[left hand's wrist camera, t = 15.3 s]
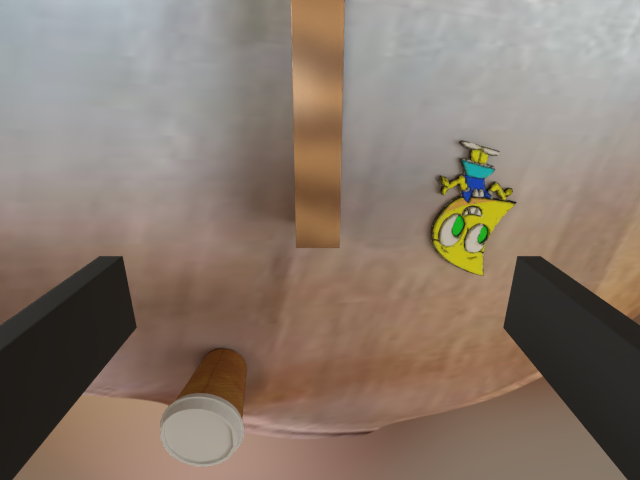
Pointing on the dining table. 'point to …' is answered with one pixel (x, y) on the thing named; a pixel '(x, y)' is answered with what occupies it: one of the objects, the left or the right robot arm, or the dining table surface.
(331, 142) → the beam
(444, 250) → the toy
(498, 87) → the dining table surface
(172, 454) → the disposable coffee cup
